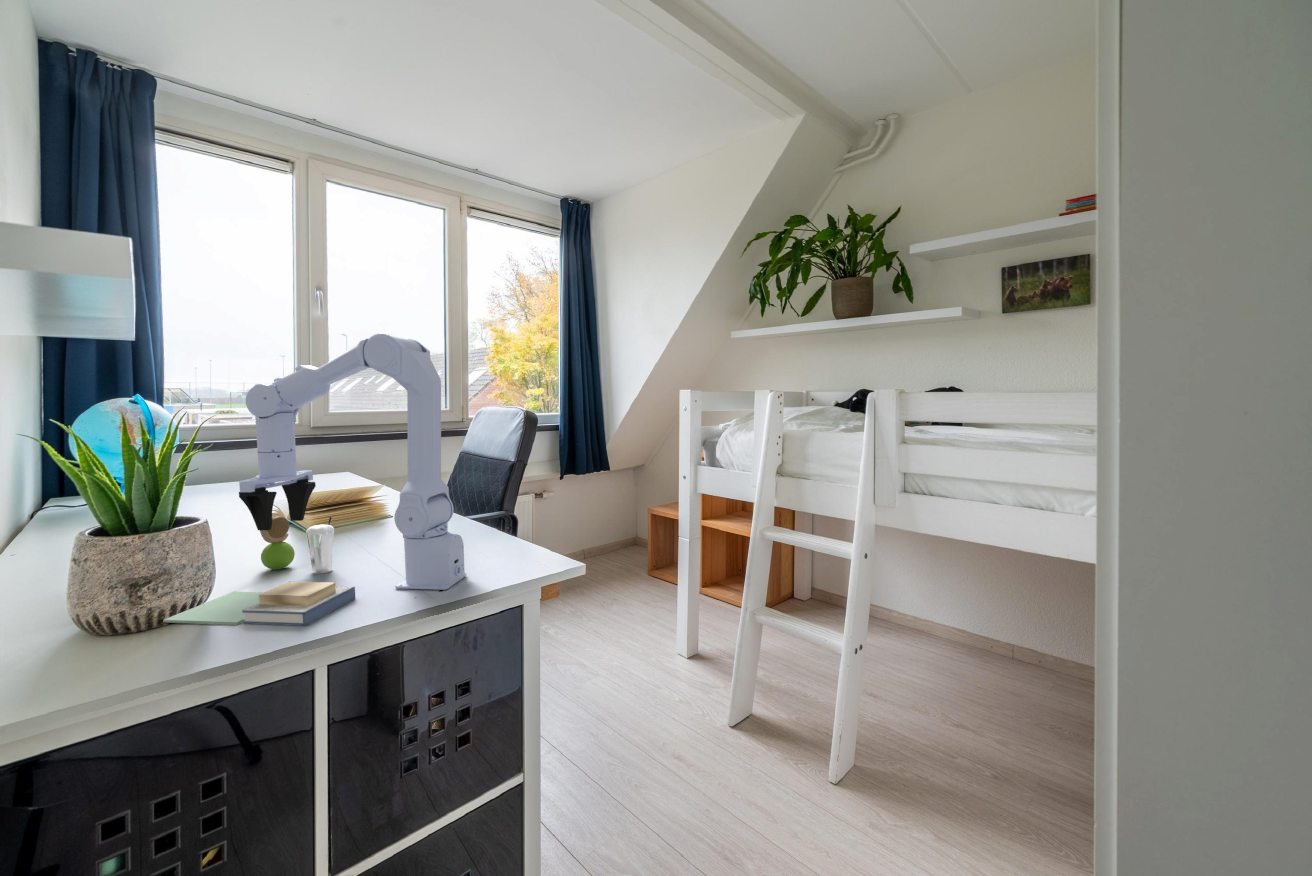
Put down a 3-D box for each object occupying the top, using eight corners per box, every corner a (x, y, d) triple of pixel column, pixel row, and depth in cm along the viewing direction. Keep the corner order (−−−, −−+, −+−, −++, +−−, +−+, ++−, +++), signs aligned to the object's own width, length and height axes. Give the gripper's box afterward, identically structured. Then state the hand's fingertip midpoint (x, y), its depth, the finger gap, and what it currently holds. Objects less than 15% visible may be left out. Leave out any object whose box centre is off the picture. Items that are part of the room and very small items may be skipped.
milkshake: (344, 566, 107) (341, 516, 106) (325, 575, 102) (322, 523, 101) (322, 566, 108) (320, 516, 107) (302, 575, 102) (299, 522, 102)
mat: (299, 595, 91) (299, 593, 91) (236, 624, 79) (236, 622, 79) (234, 593, 92) (234, 591, 92) (163, 622, 81) (163, 619, 80)
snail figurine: (249, 574, 103) (245, 512, 102) (279, 564, 109) (276, 505, 109) (273, 575, 102) (269, 512, 101) (302, 565, 108) (298, 506, 107)
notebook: (355, 598, 90) (354, 586, 89) (305, 625, 79) (304, 612, 78) (299, 596, 91) (299, 585, 90) (242, 623, 80) (242, 610, 80)
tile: (335, 591, 87) (335, 582, 87) (308, 605, 81) (307, 595, 81) (290, 590, 88) (289, 581, 88) (259, 604, 82) (258, 594, 82)
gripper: (287, 447, 106) (291, 516, 107) (221, 455, 92) (226, 534, 93) (321, 447, 105) (325, 516, 106) (259, 455, 91) (264, 534, 92)
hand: (281, 525), depth 99 cm, fingers open, 7 cm apart
